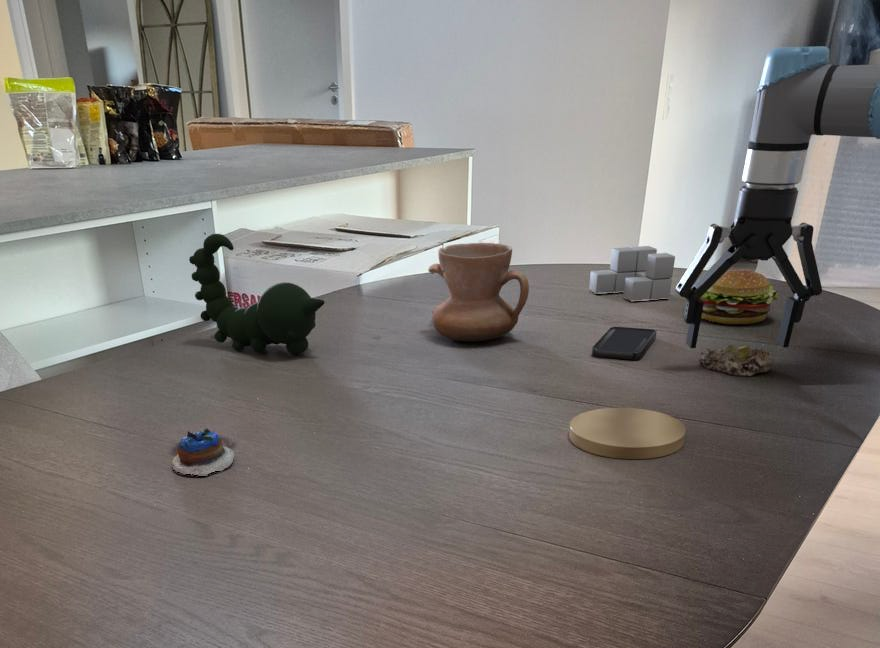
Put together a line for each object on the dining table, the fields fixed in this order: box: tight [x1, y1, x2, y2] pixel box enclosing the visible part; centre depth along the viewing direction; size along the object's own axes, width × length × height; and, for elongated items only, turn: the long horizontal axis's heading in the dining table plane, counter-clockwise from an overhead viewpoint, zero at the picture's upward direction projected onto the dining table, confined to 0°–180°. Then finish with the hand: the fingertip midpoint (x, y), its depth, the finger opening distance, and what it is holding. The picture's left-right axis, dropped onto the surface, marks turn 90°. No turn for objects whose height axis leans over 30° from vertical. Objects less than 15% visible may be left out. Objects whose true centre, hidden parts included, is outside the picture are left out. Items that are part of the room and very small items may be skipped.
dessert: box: [171, 427, 235, 476], centre depth 102 cm, size 8×7×6 cm
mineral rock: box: [698, 344, 775, 377], centre depth 127 cm, size 11×4×8 cm
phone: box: [591, 326, 657, 361], centre depth 139 cm, size 8×1×15 cm
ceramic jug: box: [427, 242, 530, 343], centre depth 143 cm, size 18×14×14 cm
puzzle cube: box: [588, 245, 676, 300], centre depth 167 cm, size 12×12×8 cm
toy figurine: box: [188, 233, 326, 356], centre depth 139 cm, size 9×19×25 cm
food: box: [700, 269, 780, 326], centre depth 150 cm, size 14×14×8 cm
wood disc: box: [568, 407, 687, 460], centre depth 105 cm, size 14×14×2 cm
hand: (736, 345), depth 126 cm, fingers open, 13 cm apart
